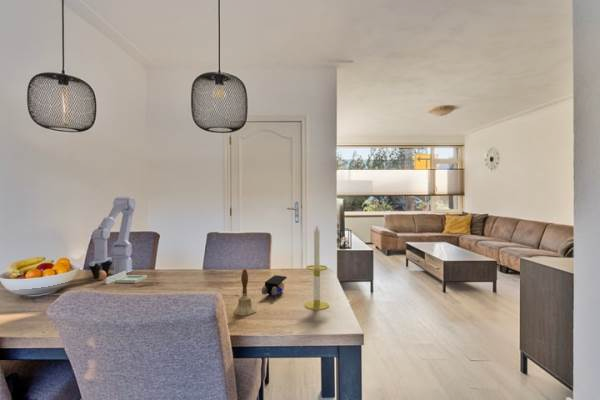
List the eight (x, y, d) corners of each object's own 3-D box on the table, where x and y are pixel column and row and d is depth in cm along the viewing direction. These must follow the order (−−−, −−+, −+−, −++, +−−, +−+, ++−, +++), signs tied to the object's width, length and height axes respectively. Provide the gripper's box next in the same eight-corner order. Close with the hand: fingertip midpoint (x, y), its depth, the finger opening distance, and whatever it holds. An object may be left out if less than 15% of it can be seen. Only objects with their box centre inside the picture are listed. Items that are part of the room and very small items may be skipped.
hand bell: (229, 311, 123) (229, 269, 123) (247, 306, 129) (247, 266, 129) (242, 317, 117) (241, 273, 117) (260, 311, 123) (260, 269, 123)
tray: (128, 277, 177) (128, 275, 177) (146, 278, 176) (146, 275, 176) (115, 282, 166) (115, 279, 166) (135, 283, 165) (135, 280, 165)
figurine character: (276, 304, 136) (287, 290, 151) (275, 286, 136) (287, 274, 150) (261, 302, 138) (274, 289, 153) (260, 285, 138) (273, 273, 152)
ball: (99, 278, 175) (99, 269, 175) (108, 278, 174) (108, 269, 174) (93, 280, 170) (93, 271, 170) (102, 281, 169) (102, 271, 169)
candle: (308, 311, 124) (308, 225, 124) (301, 303, 133) (301, 223, 133) (333, 308, 126) (333, 225, 126) (324, 300, 136) (324, 223, 136)
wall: (124, 276, 180) (124, 270, 180) (126, 276, 179) (126, 271, 179) (105, 283, 164) (105, 277, 164) (107, 283, 163) (107, 277, 163)
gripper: (102, 249, 180) (103, 273, 180) (83, 253, 165) (83, 280, 165) (115, 249, 179) (115, 274, 179) (96, 253, 165) (96, 280, 165)
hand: (100, 277), depth 172 cm, fingers open, 6 cm apart
